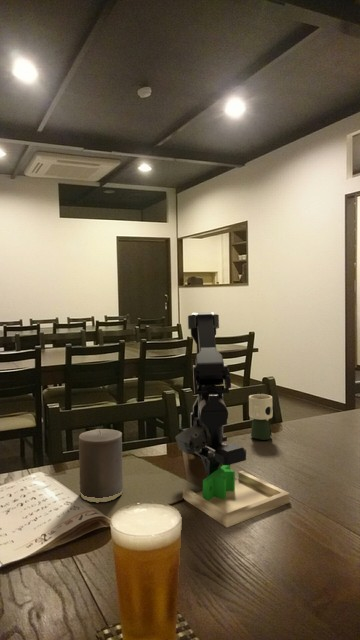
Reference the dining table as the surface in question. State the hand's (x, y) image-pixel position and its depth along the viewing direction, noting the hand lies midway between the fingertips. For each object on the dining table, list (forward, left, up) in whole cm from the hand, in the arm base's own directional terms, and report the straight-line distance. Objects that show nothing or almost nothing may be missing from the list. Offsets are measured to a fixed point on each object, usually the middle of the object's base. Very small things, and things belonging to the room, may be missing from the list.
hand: (210, 480), depth 103 cm
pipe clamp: (+4, 0, -2) cm, 4 cm away
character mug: (-18, +33, -2) cm, 38 cm away
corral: (+8, 0, -2) cm, 8 cm away
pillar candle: (-12, -22, -2) cm, 25 cm away
